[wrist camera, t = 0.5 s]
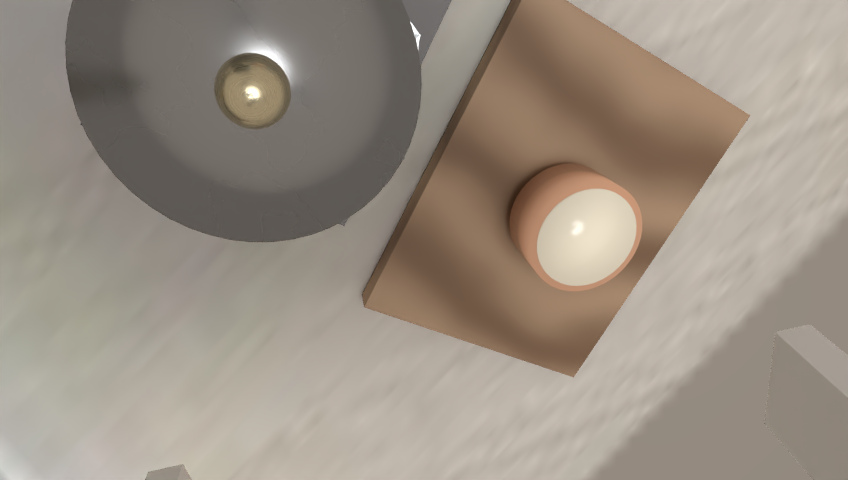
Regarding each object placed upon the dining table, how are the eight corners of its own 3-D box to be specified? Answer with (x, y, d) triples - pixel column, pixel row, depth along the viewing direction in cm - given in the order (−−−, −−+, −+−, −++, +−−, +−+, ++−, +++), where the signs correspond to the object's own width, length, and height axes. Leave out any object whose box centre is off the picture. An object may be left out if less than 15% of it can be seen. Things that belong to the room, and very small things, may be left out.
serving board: (521, -21, 29) (532, -21, 28) (732, 110, 35) (750, 115, 33) (361, 294, 35) (364, 307, 33) (564, 364, 40) (573, 377, 39)
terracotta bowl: (540, 141, 31) (571, 161, 28) (626, 185, 34) (665, 209, 30) (485, 238, 33) (508, 269, 30) (570, 273, 35) (601, 306, 32)
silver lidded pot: (91, 33, 26) (-59, 65, 15) (277, -134, 25) (256, -228, 14) (266, 207, 31) (245, 324, 20) (428, 74, 30) (498, 124, 19)
